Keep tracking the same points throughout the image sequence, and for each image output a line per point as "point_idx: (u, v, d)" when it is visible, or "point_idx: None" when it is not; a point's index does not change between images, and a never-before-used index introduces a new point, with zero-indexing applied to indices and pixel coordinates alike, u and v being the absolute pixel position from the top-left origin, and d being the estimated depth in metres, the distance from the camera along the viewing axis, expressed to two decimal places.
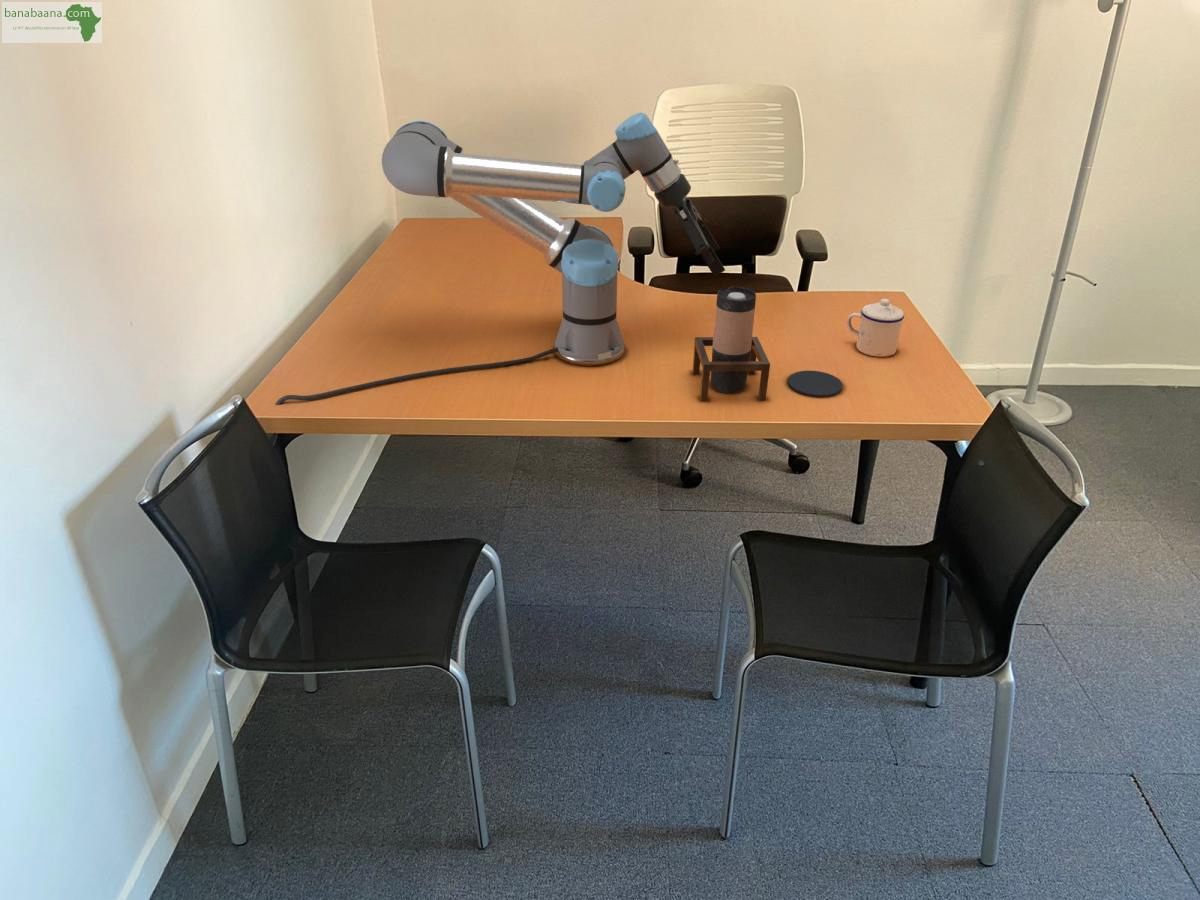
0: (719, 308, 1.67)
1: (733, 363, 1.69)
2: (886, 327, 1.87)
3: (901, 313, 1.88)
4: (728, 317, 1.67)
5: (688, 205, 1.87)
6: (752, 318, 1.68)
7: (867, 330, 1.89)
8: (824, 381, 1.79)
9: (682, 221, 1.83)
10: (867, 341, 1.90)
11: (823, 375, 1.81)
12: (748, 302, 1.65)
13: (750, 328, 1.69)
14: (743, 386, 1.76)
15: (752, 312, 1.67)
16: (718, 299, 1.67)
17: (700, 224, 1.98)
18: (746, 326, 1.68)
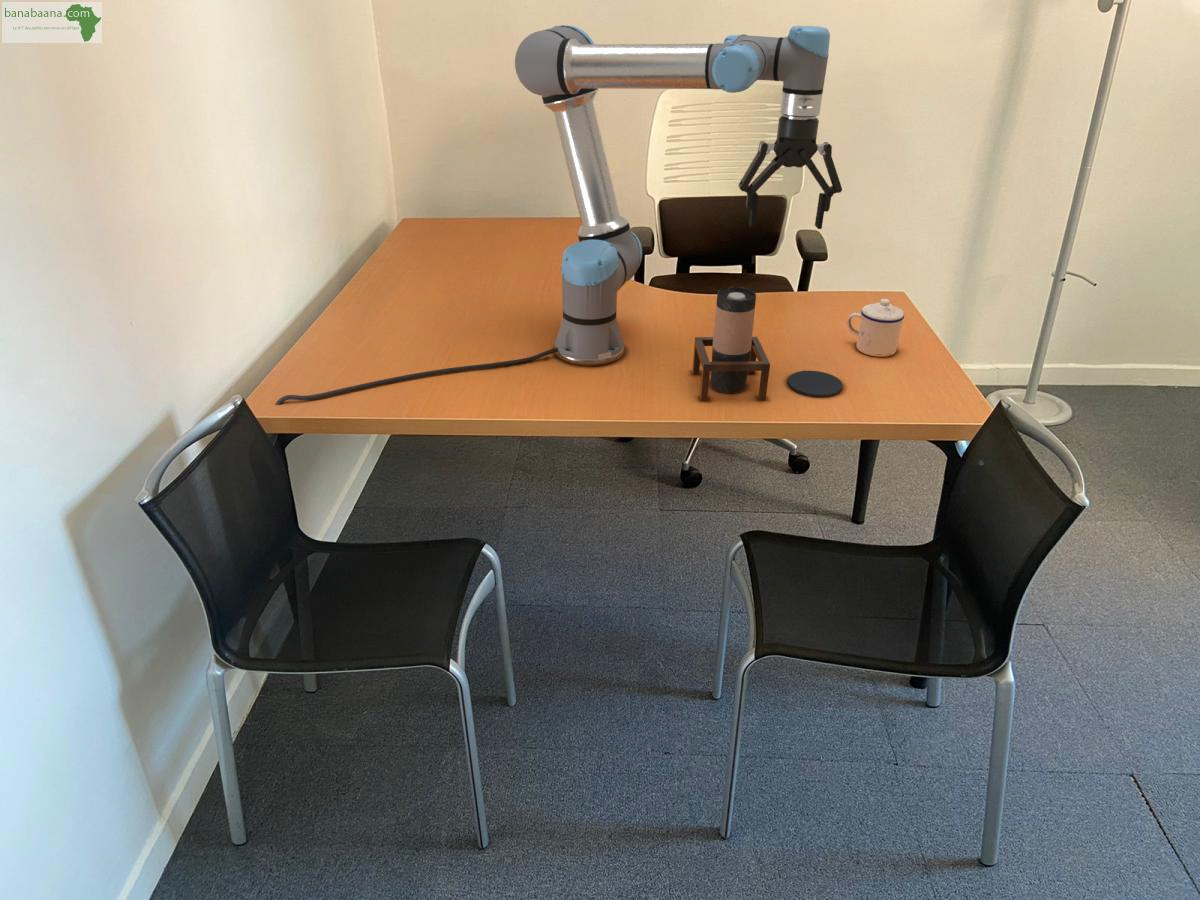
0: (719, 308, 1.67)
1: (733, 363, 1.69)
2: (886, 327, 1.87)
3: (901, 313, 1.88)
4: (728, 317, 1.67)
5: (787, 150, 1.67)
6: (752, 318, 1.68)
7: (867, 330, 1.89)
8: (824, 381, 1.79)
9: (758, 151, 1.69)
10: (867, 341, 1.90)
11: (823, 375, 1.81)
12: (748, 302, 1.65)
13: (750, 328, 1.69)
14: (743, 386, 1.76)
15: (752, 312, 1.67)
16: (718, 299, 1.67)
17: None
18: (746, 326, 1.68)
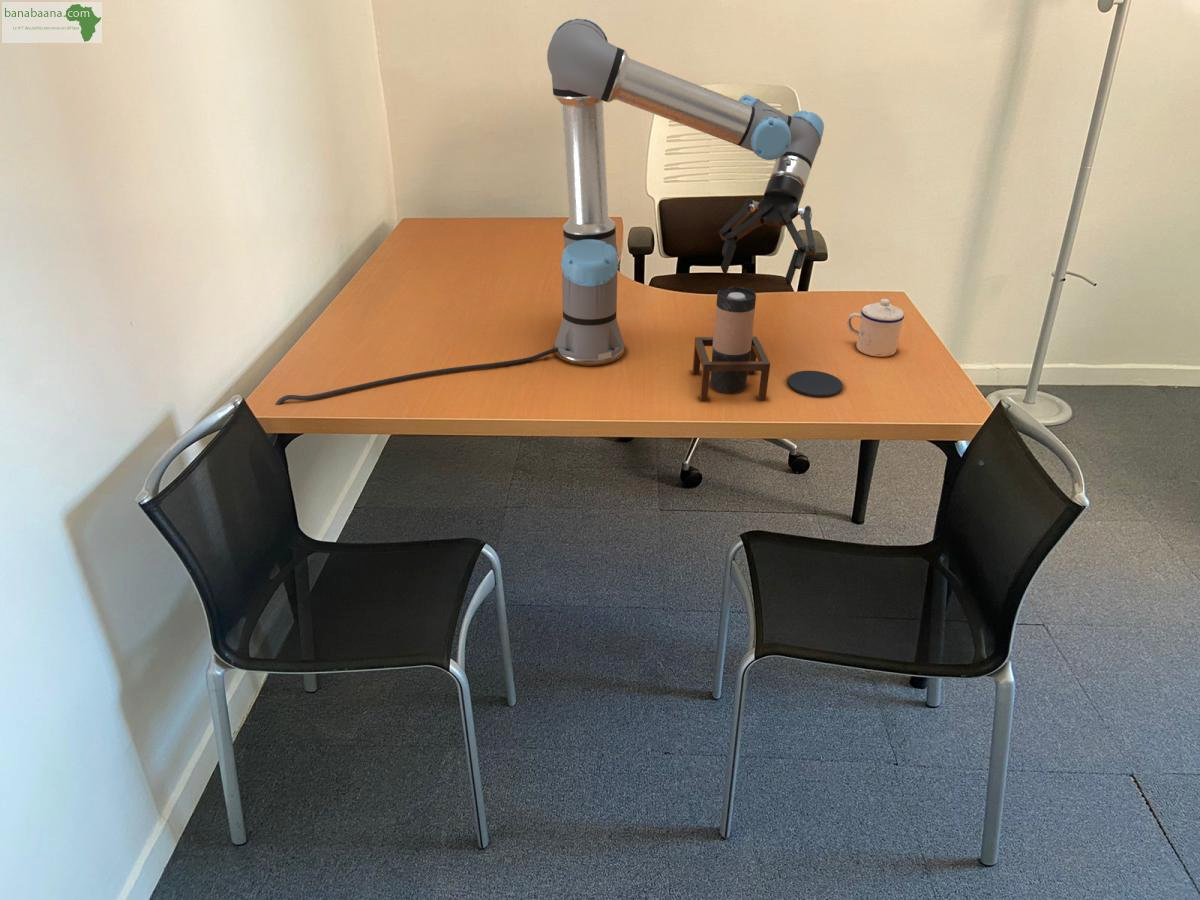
0: (719, 308, 1.67)
1: (733, 363, 1.69)
2: (886, 327, 1.87)
3: (901, 313, 1.88)
4: (728, 317, 1.67)
5: None
6: (752, 318, 1.68)
7: (867, 330, 1.89)
8: (824, 381, 1.79)
9: None
10: (867, 341, 1.90)
11: (823, 375, 1.81)
12: (748, 302, 1.65)
13: (750, 328, 1.69)
14: (743, 386, 1.76)
15: (752, 312, 1.67)
16: (718, 299, 1.67)
17: None
18: (746, 326, 1.68)
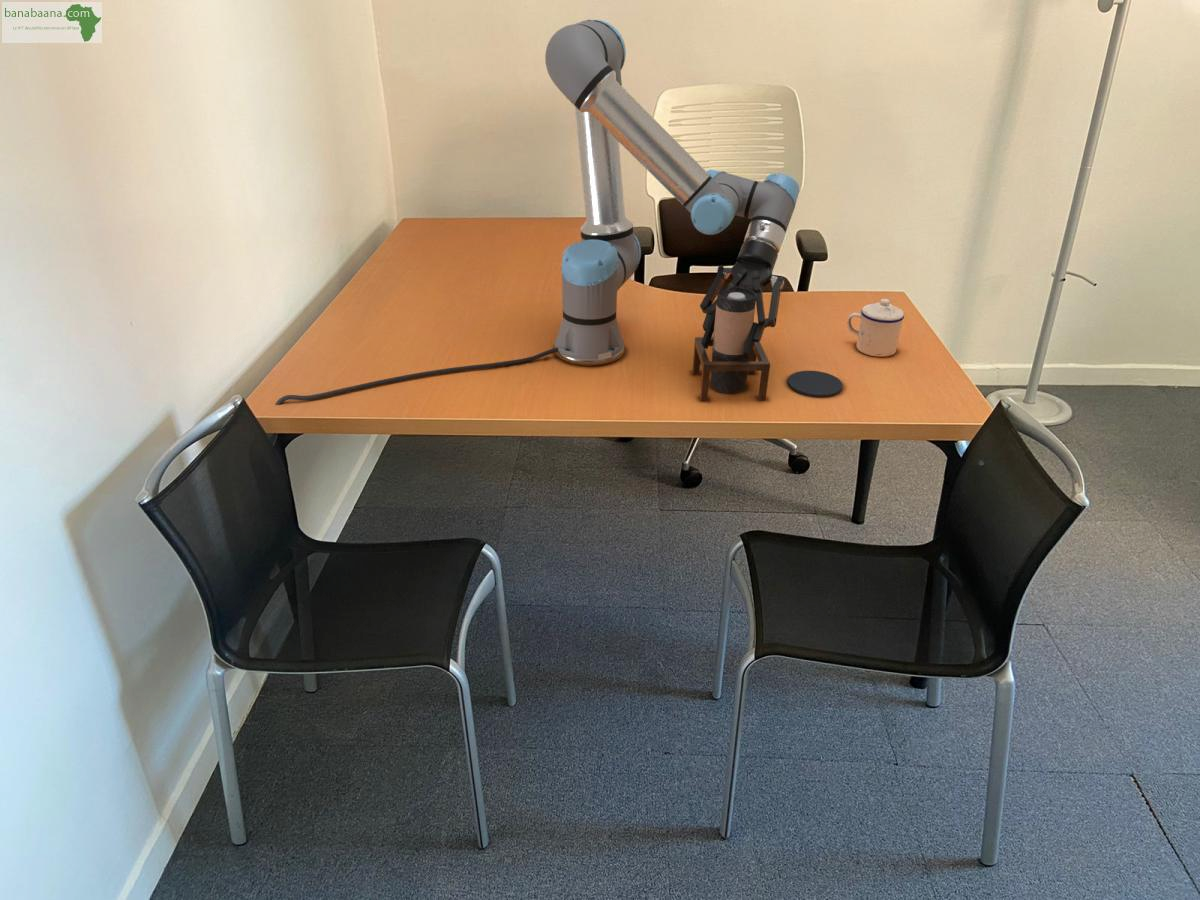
0: (719, 308, 1.67)
1: (733, 363, 1.69)
2: (886, 327, 1.87)
3: (901, 313, 1.88)
4: (728, 317, 1.67)
5: None
6: (752, 318, 1.68)
7: (867, 330, 1.89)
8: (824, 381, 1.79)
9: None
10: (867, 341, 1.90)
11: (823, 375, 1.81)
12: (748, 302, 1.65)
13: (750, 328, 1.69)
14: (743, 386, 1.76)
15: (752, 312, 1.67)
16: (718, 299, 1.67)
17: None
18: (746, 326, 1.68)
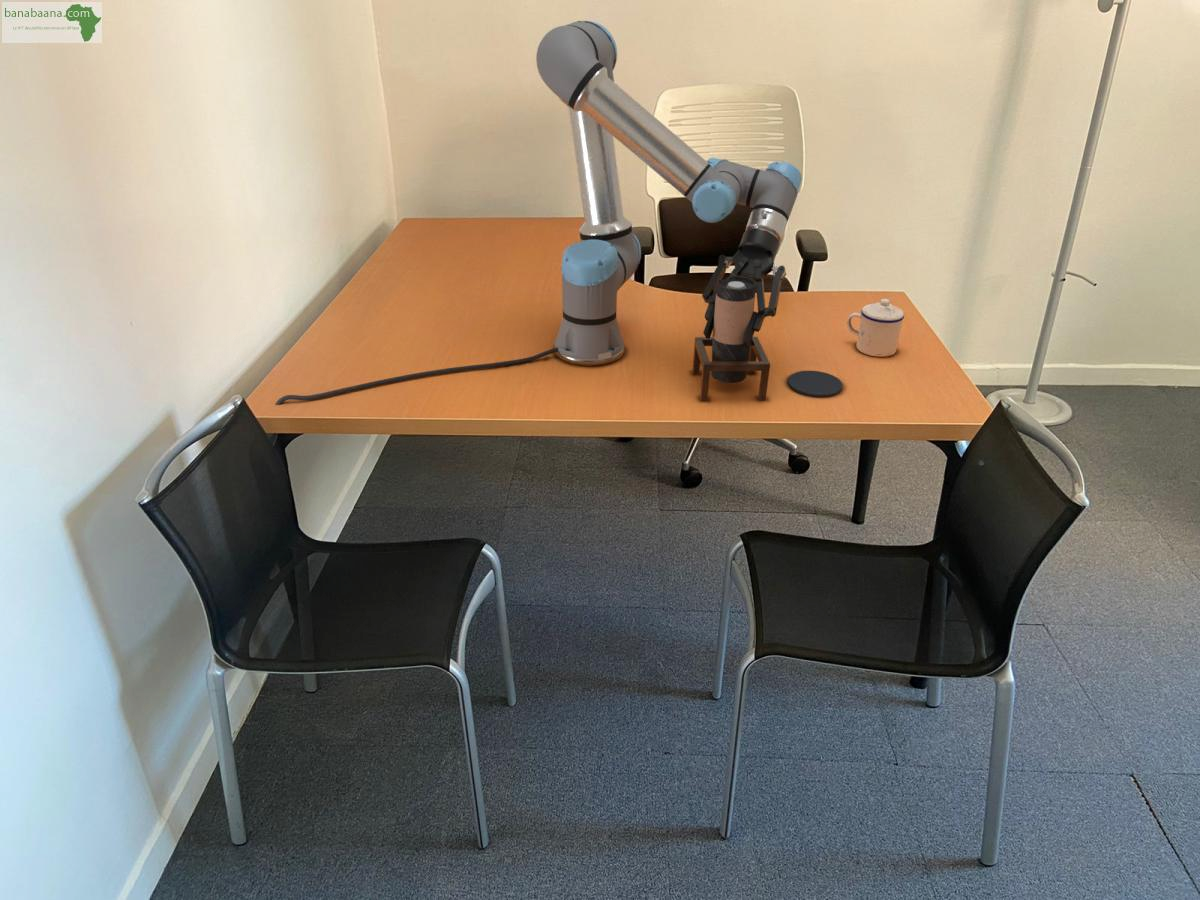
0: (719, 297, 1.66)
1: (733, 363, 1.69)
2: (886, 327, 1.87)
3: (901, 313, 1.88)
4: (727, 306, 1.65)
5: None
6: (752, 307, 1.67)
7: (867, 330, 1.89)
8: (824, 381, 1.79)
9: None
10: (867, 341, 1.90)
11: (823, 375, 1.81)
12: (748, 291, 1.64)
13: (750, 317, 1.68)
14: (744, 376, 1.74)
15: (752, 301, 1.66)
16: (718, 288, 1.66)
17: None
18: (746, 315, 1.66)
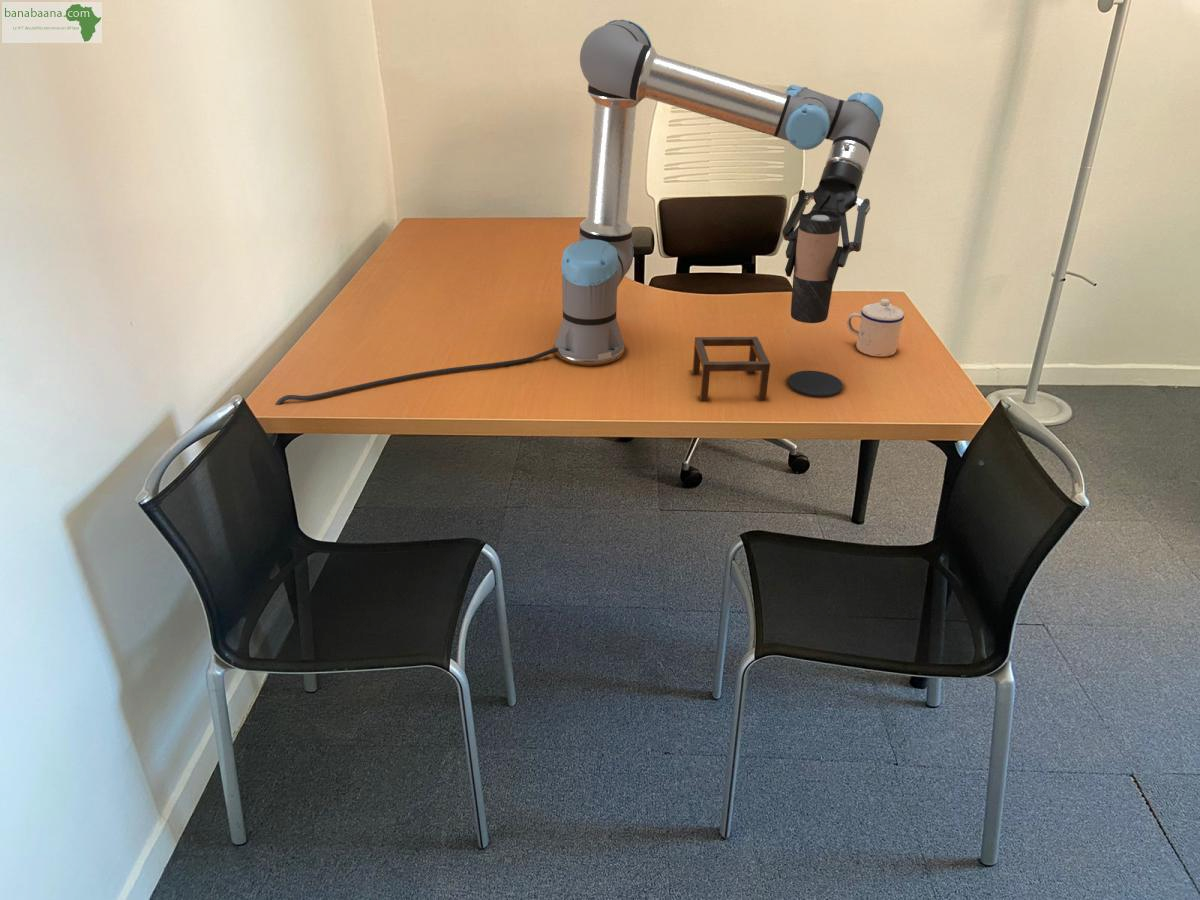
0: (803, 231, 1.60)
1: (733, 363, 1.69)
2: (886, 327, 1.87)
3: (901, 313, 1.88)
4: (812, 240, 1.59)
5: None
6: (837, 241, 1.61)
7: (867, 330, 1.89)
8: (824, 381, 1.79)
9: None
10: (867, 341, 1.90)
11: (823, 375, 1.81)
12: (834, 223, 1.58)
13: (835, 252, 1.61)
14: (826, 315, 1.68)
15: (837, 234, 1.60)
16: (801, 222, 1.60)
17: None
18: (831, 249, 1.60)
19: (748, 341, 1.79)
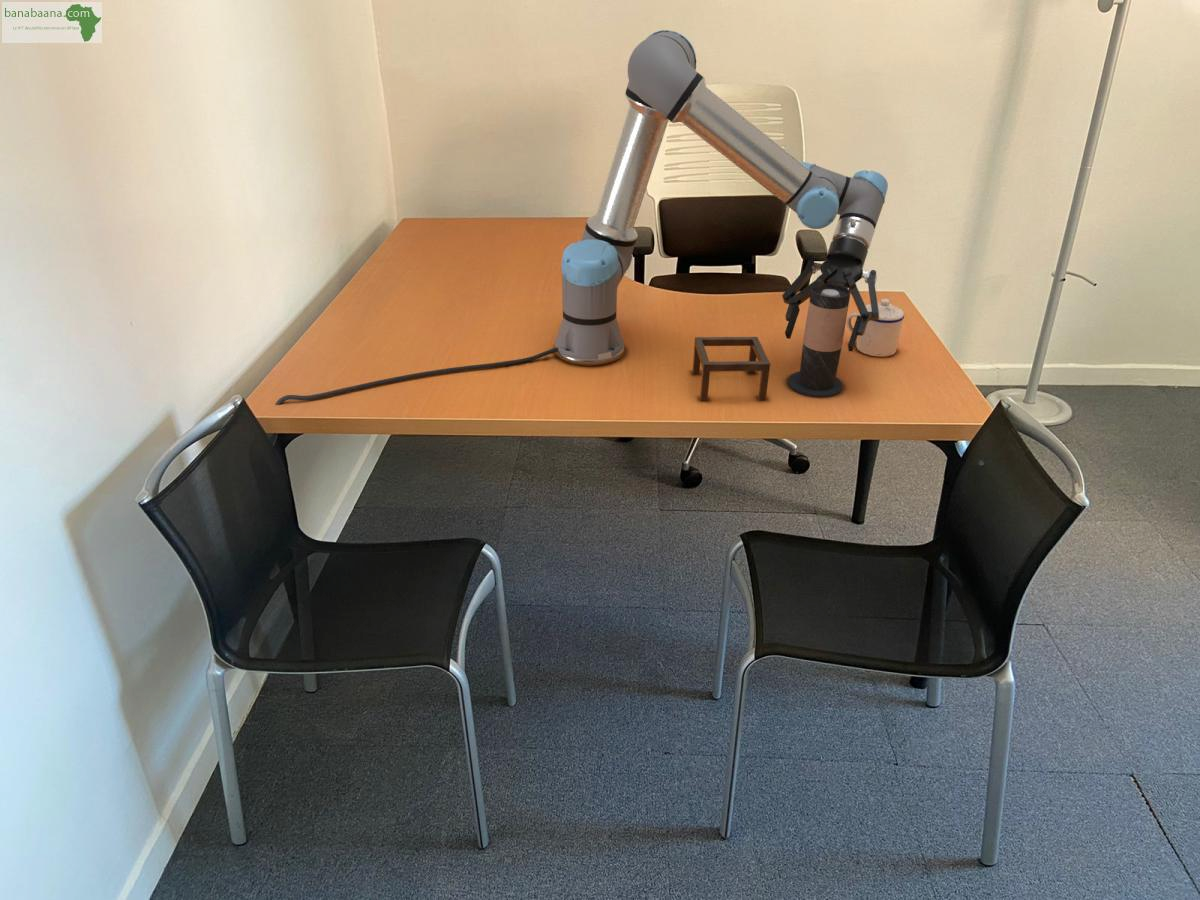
0: (814, 305, 1.68)
1: (733, 363, 1.69)
2: (886, 327, 1.87)
3: (901, 313, 1.88)
4: (822, 314, 1.67)
5: None
6: (846, 315, 1.68)
7: (867, 330, 1.89)
8: None
9: None
10: (867, 341, 1.90)
11: None
12: (843, 299, 1.65)
13: (843, 325, 1.69)
14: (833, 383, 1.76)
15: (846, 309, 1.68)
16: (812, 296, 1.67)
17: None
18: (840, 323, 1.68)
19: (748, 341, 1.79)
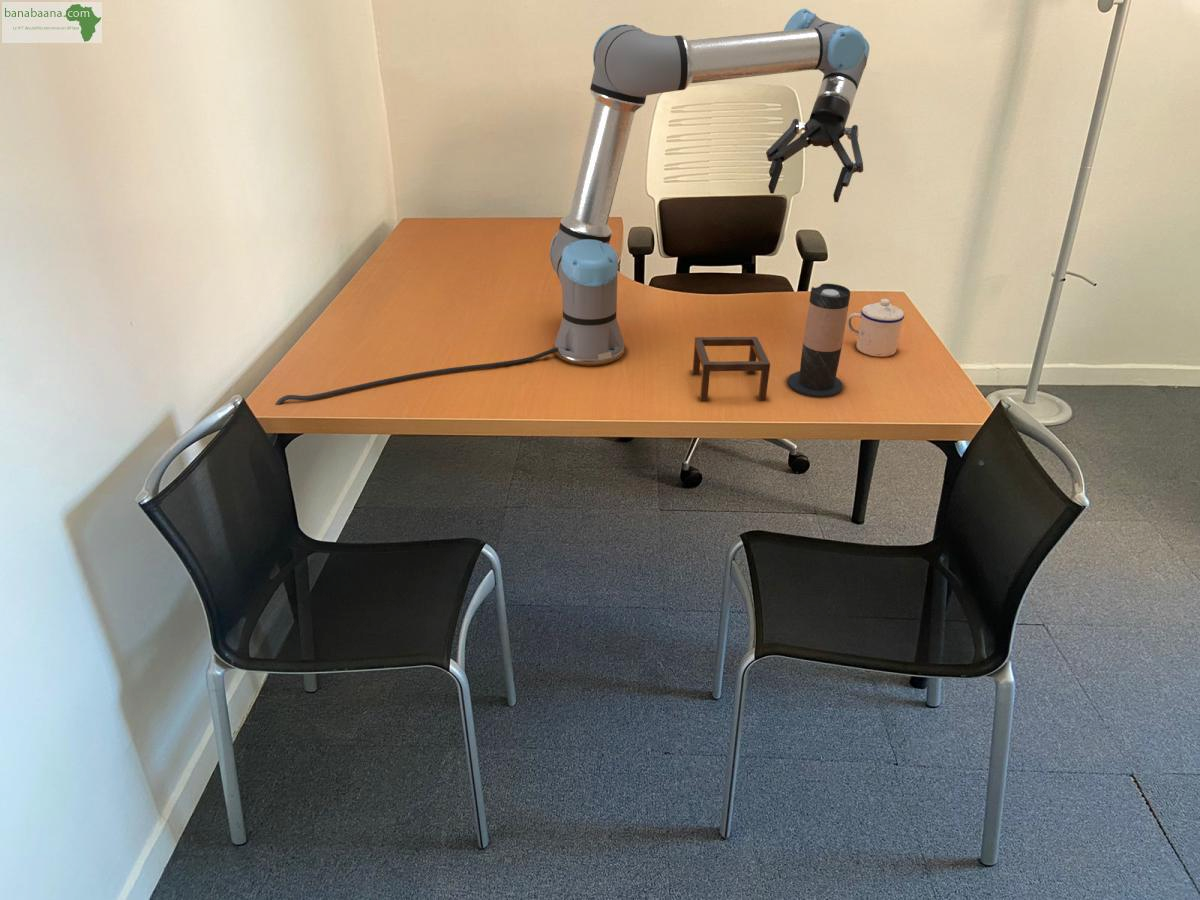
0: (814, 305, 1.68)
1: (733, 363, 1.69)
2: (886, 327, 1.87)
3: (901, 313, 1.88)
4: (822, 314, 1.67)
5: None
6: (846, 315, 1.68)
7: (867, 330, 1.89)
8: None
9: None
10: (867, 341, 1.90)
11: None
12: (843, 299, 1.65)
13: (843, 325, 1.69)
14: (833, 383, 1.76)
15: (846, 309, 1.68)
16: (812, 296, 1.67)
17: None
18: (840, 323, 1.68)
19: (748, 341, 1.79)
